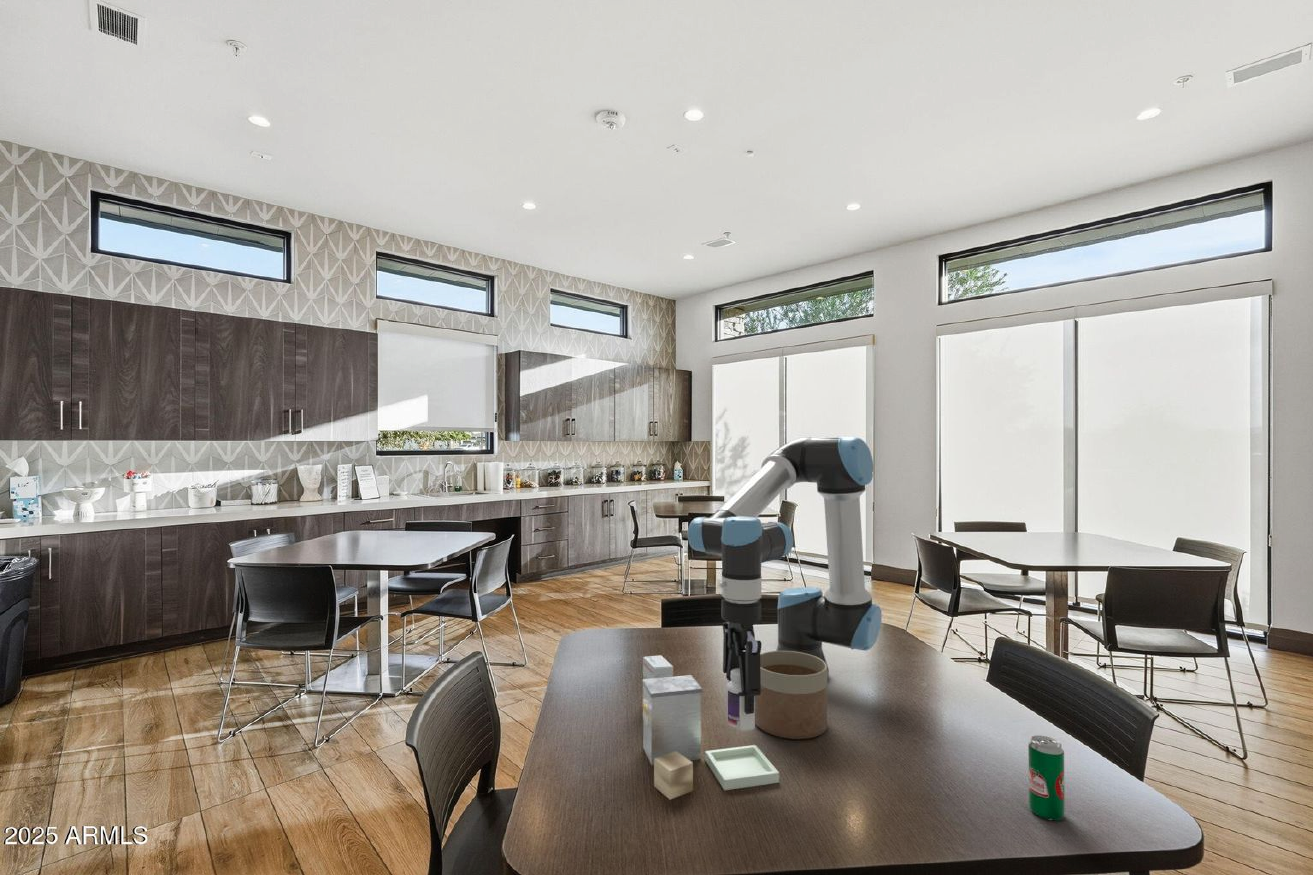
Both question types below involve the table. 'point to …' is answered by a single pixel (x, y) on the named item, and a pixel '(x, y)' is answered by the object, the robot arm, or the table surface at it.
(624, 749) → the table surface
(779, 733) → the planter
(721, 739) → the table surface
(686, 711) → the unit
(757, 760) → the tray
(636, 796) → the table surface
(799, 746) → the table surface
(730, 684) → the pill bottle
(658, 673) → the ink box
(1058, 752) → the soda can
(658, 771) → the maple block
